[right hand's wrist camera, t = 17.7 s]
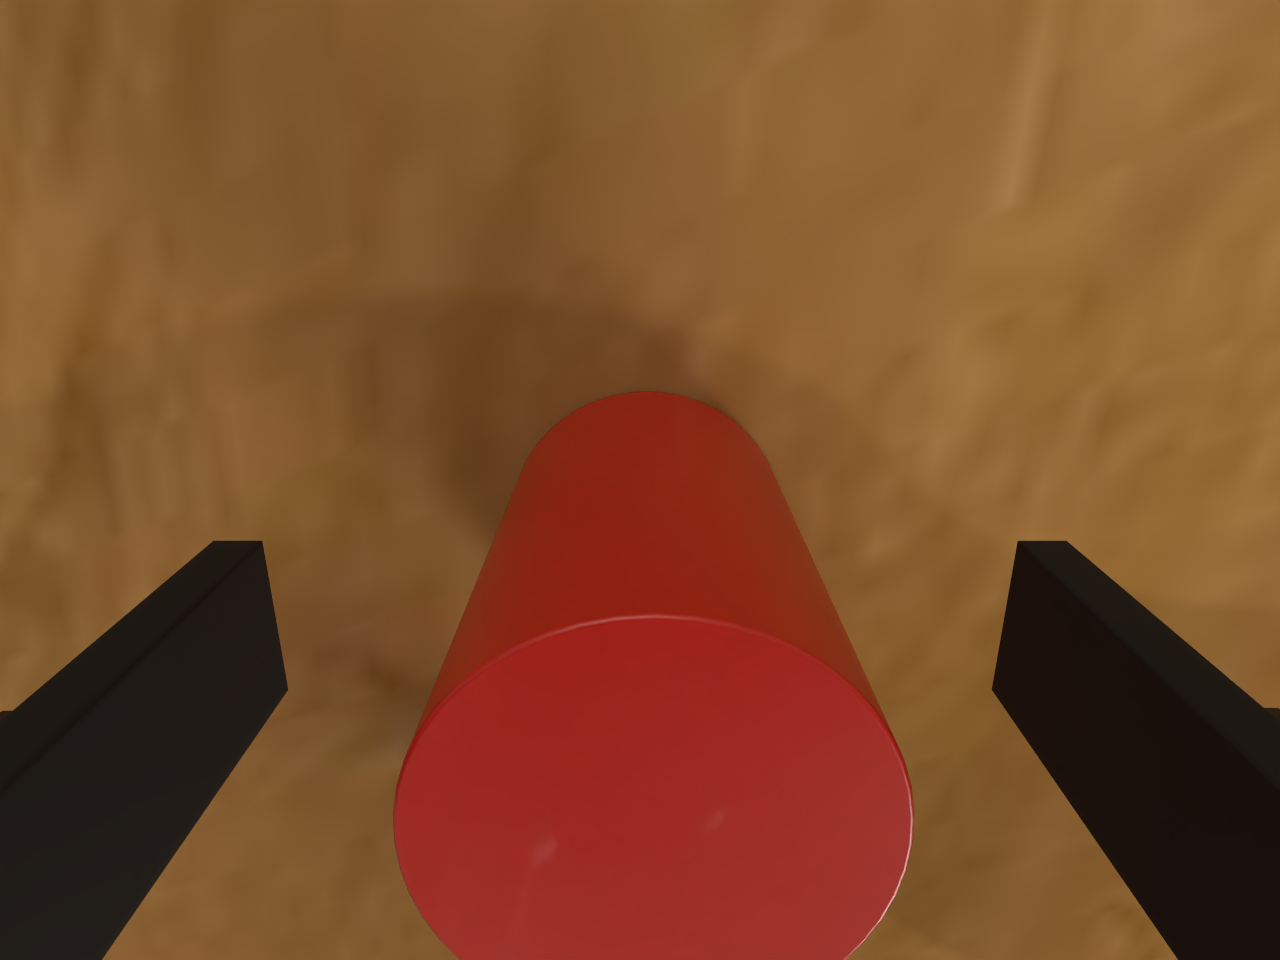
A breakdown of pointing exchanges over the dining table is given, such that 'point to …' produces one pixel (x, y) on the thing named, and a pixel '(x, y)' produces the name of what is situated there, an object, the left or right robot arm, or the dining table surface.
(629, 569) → the canister
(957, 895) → the dining table surface
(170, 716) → the right robot arm
